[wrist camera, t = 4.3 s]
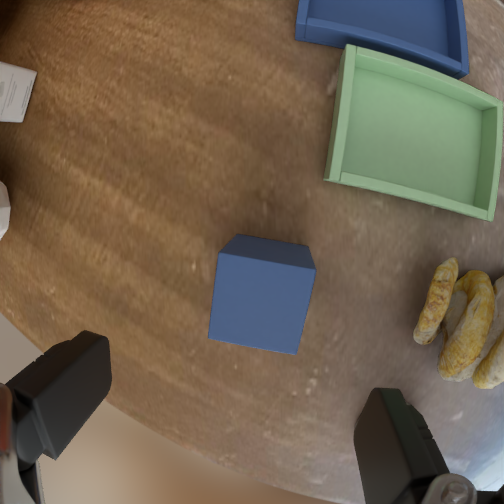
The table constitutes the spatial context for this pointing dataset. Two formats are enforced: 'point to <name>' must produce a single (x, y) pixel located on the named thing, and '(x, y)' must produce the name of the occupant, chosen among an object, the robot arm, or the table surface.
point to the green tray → (415, 134)
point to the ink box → (14, 91)
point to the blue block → (261, 293)
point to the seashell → (465, 324)
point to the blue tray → (391, 29)
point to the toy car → (4, 209)
